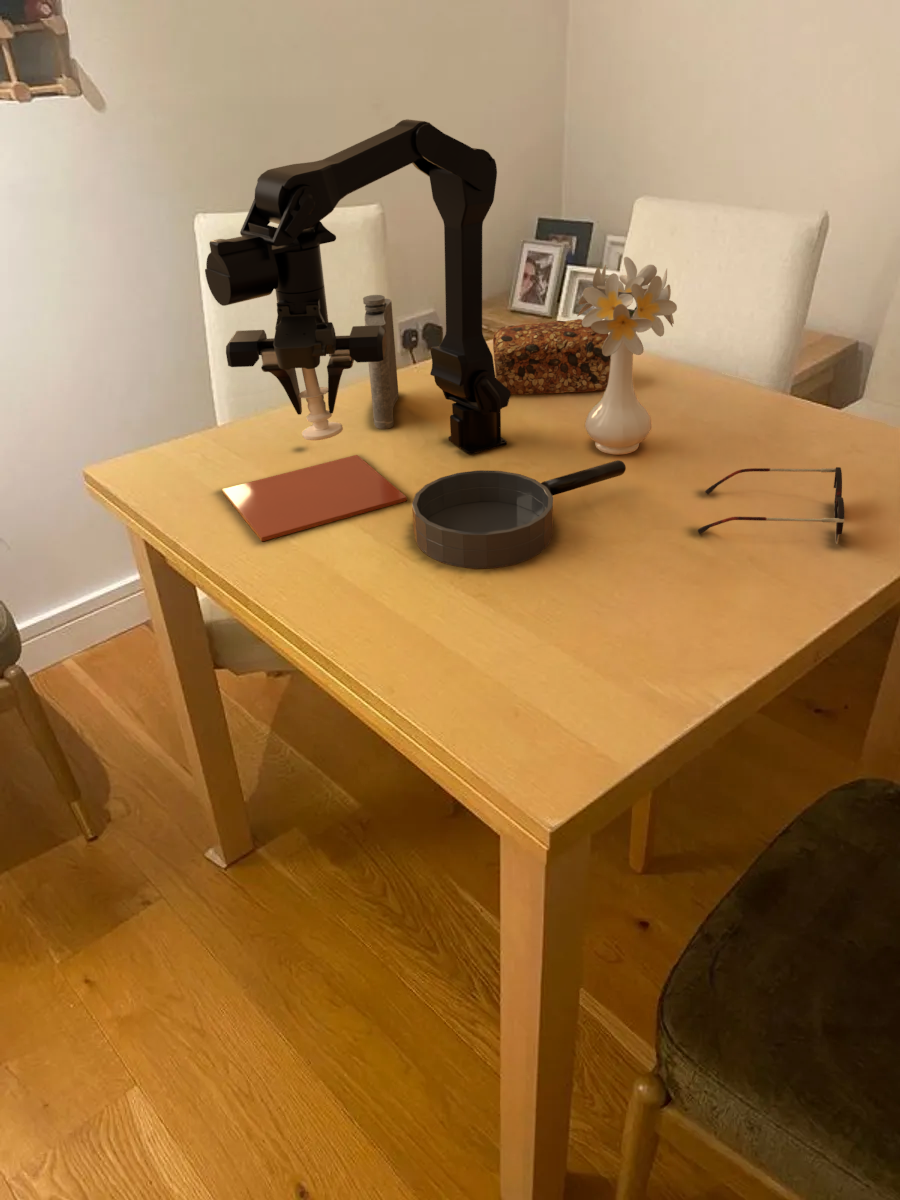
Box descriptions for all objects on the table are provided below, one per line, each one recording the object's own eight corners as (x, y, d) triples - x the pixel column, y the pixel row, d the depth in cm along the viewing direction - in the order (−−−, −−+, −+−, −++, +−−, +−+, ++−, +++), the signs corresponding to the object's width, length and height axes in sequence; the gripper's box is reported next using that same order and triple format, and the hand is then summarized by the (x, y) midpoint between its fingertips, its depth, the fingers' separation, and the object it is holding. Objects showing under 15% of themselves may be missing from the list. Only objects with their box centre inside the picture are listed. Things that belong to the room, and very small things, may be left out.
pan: (506, 490, 128) (505, 459, 126) (579, 543, 116) (580, 509, 113) (392, 523, 122) (389, 491, 120) (456, 583, 109) (455, 548, 107)
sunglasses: (840, 554, 111) (845, 515, 109) (696, 546, 116) (697, 509, 113) (837, 500, 122) (841, 464, 120) (705, 495, 127) (707, 460, 124)
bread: (603, 371, 165) (606, 312, 159) (610, 394, 156) (613, 332, 151) (493, 374, 166) (492, 316, 160) (494, 397, 157) (493, 336, 151)
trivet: (357, 458, 139) (356, 454, 139) (407, 501, 127) (406, 496, 127) (222, 493, 131) (221, 489, 131) (261, 541, 119) (261, 537, 119)
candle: (340, 437, 121) (322, 355, 116) (299, 443, 121) (280, 361, 116) (345, 423, 125) (328, 343, 120) (305, 428, 126) (287, 349, 121)
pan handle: (619, 470, 126) (619, 456, 125) (628, 476, 125) (629, 461, 124) (534, 495, 121) (534, 481, 120) (543, 501, 120) (543, 486, 119)
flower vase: (580, 477, 131) (587, 290, 117) (568, 424, 146) (573, 253, 133) (678, 474, 130) (695, 285, 117) (655, 421, 146) (669, 249, 132)
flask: (369, 429, 148) (357, 311, 138) (377, 395, 160) (367, 284, 150) (393, 428, 148) (383, 310, 138) (399, 394, 160) (391, 283, 150)
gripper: (205, 310, 107) (228, 441, 115) (373, 303, 106) (385, 436, 115) (226, 283, 116) (246, 406, 125) (381, 276, 116) (391, 401, 124)
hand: (315, 412), depth 122 cm, fingers closed on candle, 4 cm apart
